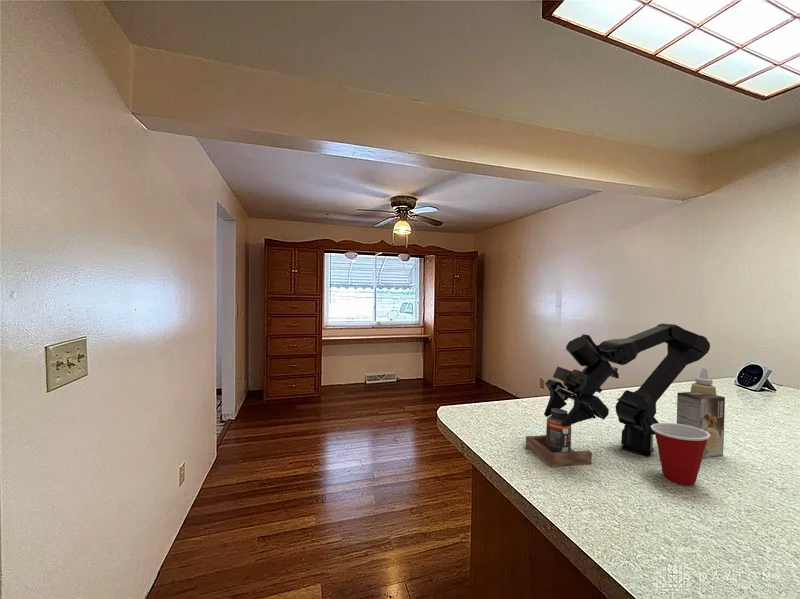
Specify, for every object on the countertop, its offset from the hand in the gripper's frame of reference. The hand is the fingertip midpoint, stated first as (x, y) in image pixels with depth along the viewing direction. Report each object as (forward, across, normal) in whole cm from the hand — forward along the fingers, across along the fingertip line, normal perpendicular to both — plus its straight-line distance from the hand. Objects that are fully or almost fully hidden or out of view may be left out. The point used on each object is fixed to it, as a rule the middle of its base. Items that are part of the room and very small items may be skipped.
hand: (553, 420), depth 91 cm
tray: (+6, 0, +8) cm, 9 cm away
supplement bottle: (+5, 0, +7) cm, 9 cm away
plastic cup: (-9, +15, +22) cm, 28 cm away
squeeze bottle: (-45, -20, +59) cm, 77 cm away
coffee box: (-24, +3, +37) cm, 44 cm away
